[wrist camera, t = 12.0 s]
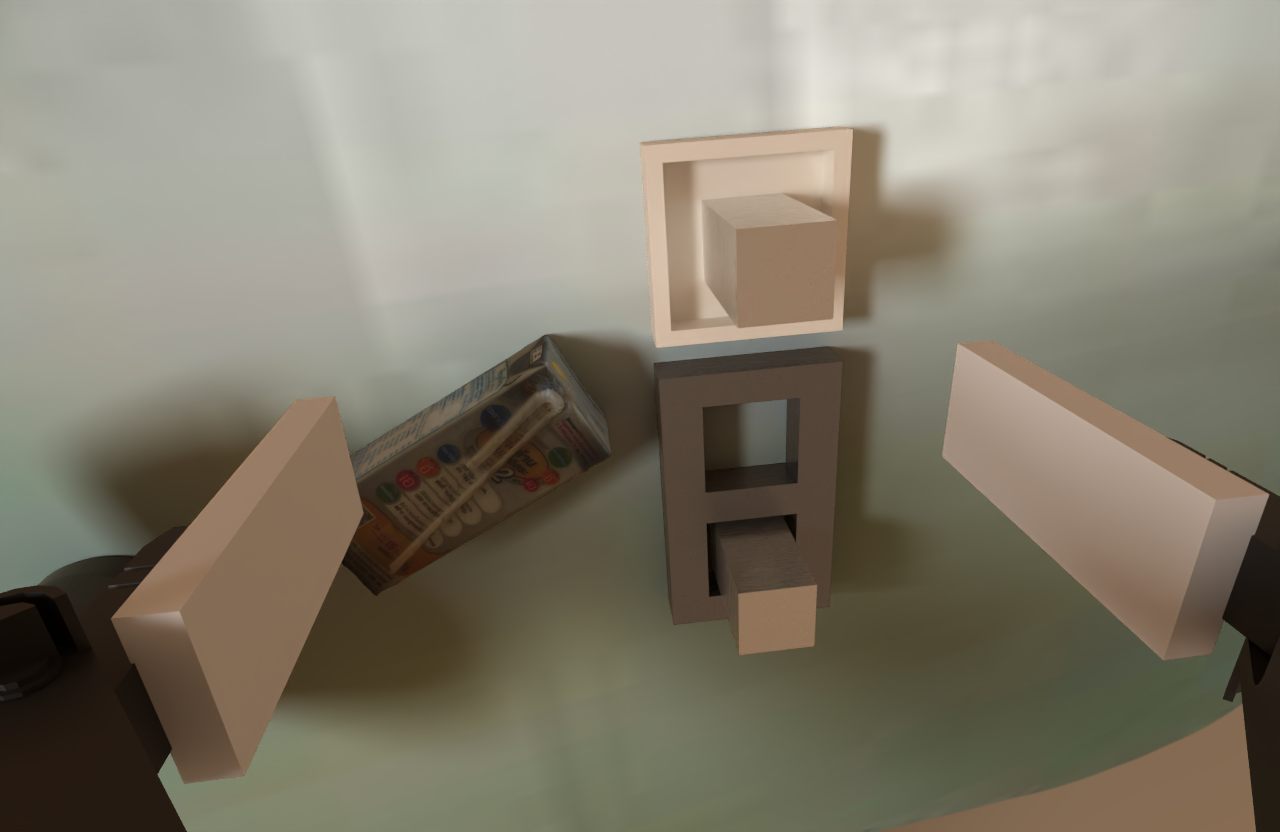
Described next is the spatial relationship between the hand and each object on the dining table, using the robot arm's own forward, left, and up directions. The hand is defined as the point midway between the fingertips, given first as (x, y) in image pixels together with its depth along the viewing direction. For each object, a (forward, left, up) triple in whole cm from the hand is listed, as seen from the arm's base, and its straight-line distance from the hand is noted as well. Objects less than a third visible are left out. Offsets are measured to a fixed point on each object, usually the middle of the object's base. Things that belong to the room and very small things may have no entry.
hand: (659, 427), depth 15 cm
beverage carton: (-11, -15, -32) cm, 37 cm away
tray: (+9, -2, -32) cm, 33 cm away
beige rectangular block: (+9, -25, -32) cm, 41 cm away
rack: (+9, -20, -32) cm, 39 cm away
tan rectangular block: (+9, -2, -31) cm, 32 cm away
